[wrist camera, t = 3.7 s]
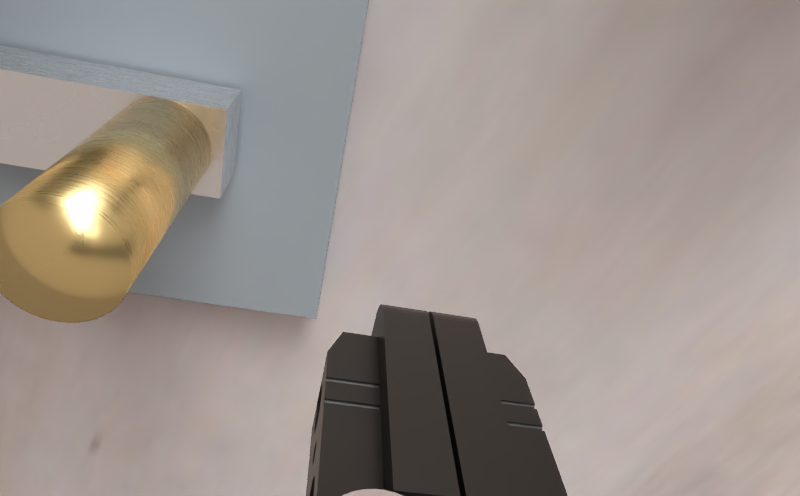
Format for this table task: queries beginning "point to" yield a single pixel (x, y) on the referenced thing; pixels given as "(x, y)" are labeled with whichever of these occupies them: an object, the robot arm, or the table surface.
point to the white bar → (100, 174)
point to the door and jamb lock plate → (257, 133)
